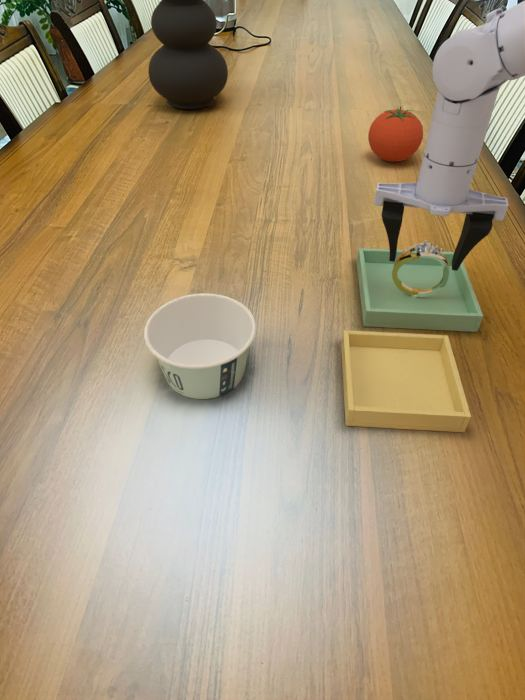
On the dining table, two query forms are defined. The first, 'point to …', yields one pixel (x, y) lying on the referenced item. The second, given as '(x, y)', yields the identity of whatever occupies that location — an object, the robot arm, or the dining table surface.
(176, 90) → the vase
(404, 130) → the tomato
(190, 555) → the dining table surface
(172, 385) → the food container
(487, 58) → the robot arm
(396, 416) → the yellow tray
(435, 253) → the ring
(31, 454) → the dining table surface
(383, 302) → the green tray
